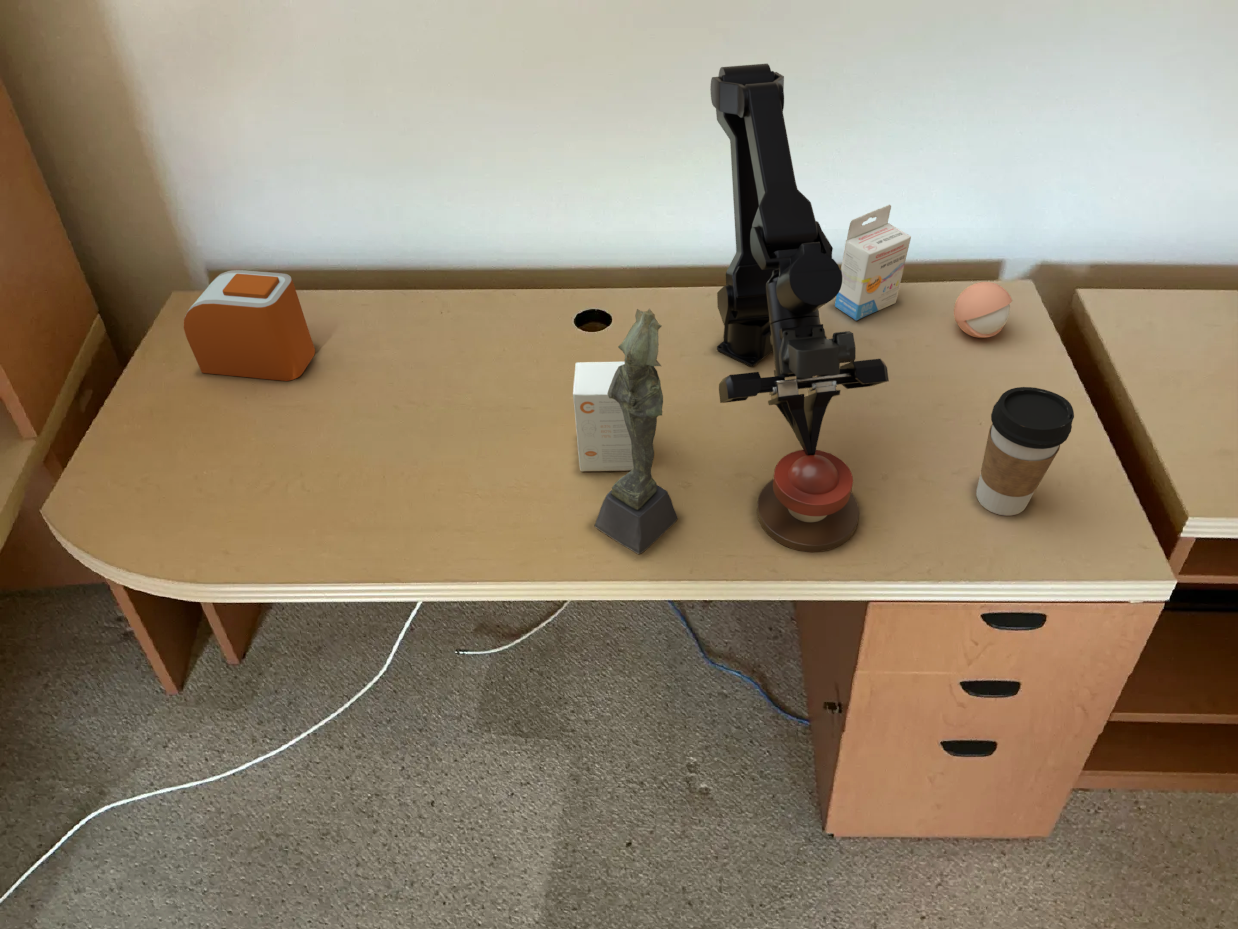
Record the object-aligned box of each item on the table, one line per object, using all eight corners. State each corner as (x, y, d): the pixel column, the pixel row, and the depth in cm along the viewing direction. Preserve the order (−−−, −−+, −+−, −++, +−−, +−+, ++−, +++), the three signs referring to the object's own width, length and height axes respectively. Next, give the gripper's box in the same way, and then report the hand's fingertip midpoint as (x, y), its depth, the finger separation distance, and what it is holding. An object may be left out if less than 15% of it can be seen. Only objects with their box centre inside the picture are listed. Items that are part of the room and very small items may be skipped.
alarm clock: (320, 346, 139) (296, 268, 130) (297, 382, 133) (269, 303, 124) (228, 337, 141) (197, 260, 132) (201, 373, 136) (166, 295, 126)
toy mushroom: (737, 519, 113) (742, 468, 107) (792, 464, 119) (799, 412, 113) (823, 568, 107) (834, 517, 101) (876, 507, 113) (889, 456, 107)
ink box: (856, 322, 140) (872, 235, 129) (833, 306, 143) (847, 220, 132) (897, 303, 143) (916, 216, 132) (874, 287, 146) (891, 202, 135)
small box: (642, 437, 123) (641, 359, 114) (642, 471, 119) (641, 393, 110) (580, 438, 124) (574, 360, 114) (578, 472, 119) (572, 394, 110)
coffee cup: (1027, 534, 110) (1066, 441, 99) (955, 506, 113) (987, 414, 103) (1045, 489, 115) (1085, 396, 104) (977, 464, 118) (1008, 372, 108)
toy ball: (977, 355, 134) (991, 309, 128) (936, 328, 138) (948, 283, 133) (1015, 335, 137) (1031, 289, 131) (974, 309, 141) (987, 264, 136)
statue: (593, 527, 113) (578, 324, 91) (633, 491, 117) (627, 289, 95) (639, 556, 109) (635, 352, 88) (679, 518, 113) (684, 314, 92)
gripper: (729, 317, 100) (746, 462, 100) (898, 300, 102) (915, 443, 101) (711, 334, 111) (726, 464, 111) (863, 318, 113) (879, 447, 113)
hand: (810, 455), depth 109 cm, fingers closed, pressing on toy mushroom
